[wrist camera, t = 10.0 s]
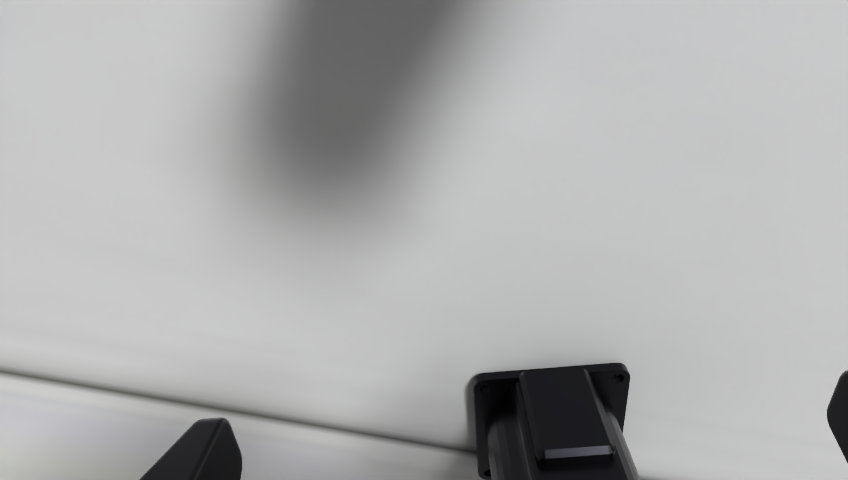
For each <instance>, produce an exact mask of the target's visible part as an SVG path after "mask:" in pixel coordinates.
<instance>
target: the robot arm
mask: <svg viewBox="0 0 848 480" xmlns="http://www.w3.org/2000/svg"><path fill="white" fill-rule="evenodd" d="M617 374H619V375H617ZM614 375H617V376H614ZM629 382H630V374H629V372H628V370H627V367H626V366H625V365H623V364H621V363H609V364H596V365H583V366H570V367H557V368H544V369H531V370H518V371H505V372H492V373H483V374H479V375H477V376H476V377H475V378H474V380H473V393H474V410H475V427H476V444H477V462H478V473H479V476H480V477H481V478H482V479H485V480H640V478H639V475H638V473H637V470H636V467H635V465H634V462H633V460H632V457H631V455H630V452H629V449H628V447H627V444H626V442H625V439H624V436H623V434H622V433H623V426H624V419H625V411H626V404H627V397H628V389H629ZM484 384H488V385H487V386H482V385H484ZM827 419H828V423H829V426H830V428H831V430H832V432H833V434H834V436H835V438H836V440H837V442H838V444H839V446H840V448H841V450H842V452H843V454H844V456H845V459H846V461H847V463H848V371H845V372H844V373H843V374H842V375H841V376H840V378H839V380H838V383H837V385H836V388H835V390H834V393H833V395H832V398H831V400H830V403H829V405H828V409H827ZM241 472H242V456H241V452H240V449H239V446H238V444H237V441H236V438H235V436H234V433H233V430H232V428H231V425H230V423H229V421H228V420H227V419H225V418H210V419H201V420H198V421H197V422H195V423H194V424H193V425H192V426H191V427H190V428H189V429H188V430H187V431H186V432H185V433H184V434H183V435H182V436H181V437H180V438H179V439H178V440H177V442H176V443H175V444H174V445H173V446H172V447H171V448H170V449H169V450H168V451H167V452H166V453H165V454H164V455H163V456H162V457H161V458H160V459H159V460H158V461H157V462H156V463H155V464H154V465H153V466H152V467H151V468H150V469H149V470H148V471H147V472H146V473H145V474H144V476H143V477H142V478H141V479H140V480H240V479H241Z"/></svg>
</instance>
